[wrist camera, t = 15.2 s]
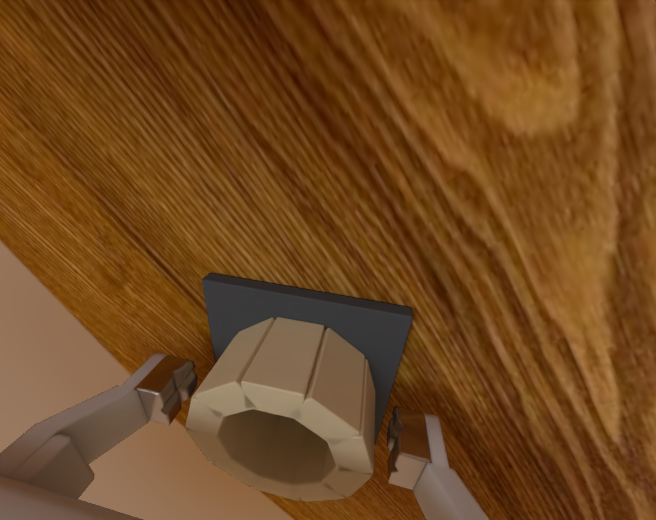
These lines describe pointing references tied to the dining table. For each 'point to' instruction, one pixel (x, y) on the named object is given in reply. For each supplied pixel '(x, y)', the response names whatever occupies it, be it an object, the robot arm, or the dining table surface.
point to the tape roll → (288, 412)
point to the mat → (314, 307)
